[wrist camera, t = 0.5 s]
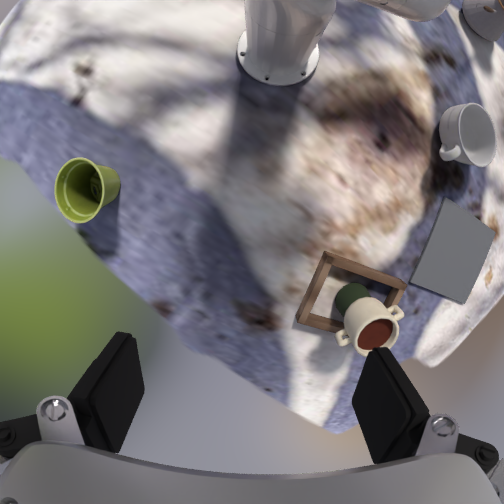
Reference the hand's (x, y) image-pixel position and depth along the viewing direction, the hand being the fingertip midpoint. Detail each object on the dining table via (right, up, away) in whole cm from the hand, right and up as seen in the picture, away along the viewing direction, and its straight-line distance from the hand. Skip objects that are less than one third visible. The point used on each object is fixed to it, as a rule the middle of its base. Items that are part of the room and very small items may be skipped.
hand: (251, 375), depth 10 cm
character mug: (+17, -3, +38) cm, 42 cm away
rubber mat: (+40, +4, +35) cm, 53 cm away
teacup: (+35, +25, +29) cm, 52 cm away
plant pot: (-24, +16, +32) cm, 43 cm away
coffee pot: (+45, +53, +20) cm, 73 cm away
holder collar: (+17, -3, +37) cm, 41 cm away
